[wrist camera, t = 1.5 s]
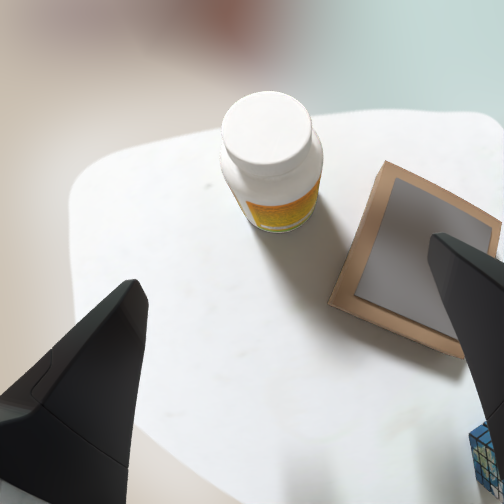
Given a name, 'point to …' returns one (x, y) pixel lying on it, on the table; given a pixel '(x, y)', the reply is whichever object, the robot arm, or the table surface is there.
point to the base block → (408, 257)
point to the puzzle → (486, 461)
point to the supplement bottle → (271, 160)
